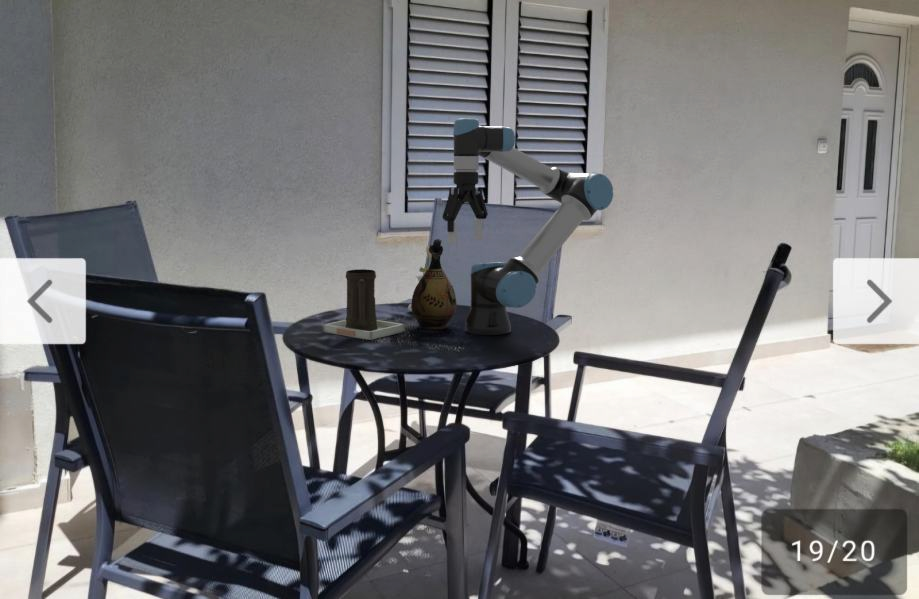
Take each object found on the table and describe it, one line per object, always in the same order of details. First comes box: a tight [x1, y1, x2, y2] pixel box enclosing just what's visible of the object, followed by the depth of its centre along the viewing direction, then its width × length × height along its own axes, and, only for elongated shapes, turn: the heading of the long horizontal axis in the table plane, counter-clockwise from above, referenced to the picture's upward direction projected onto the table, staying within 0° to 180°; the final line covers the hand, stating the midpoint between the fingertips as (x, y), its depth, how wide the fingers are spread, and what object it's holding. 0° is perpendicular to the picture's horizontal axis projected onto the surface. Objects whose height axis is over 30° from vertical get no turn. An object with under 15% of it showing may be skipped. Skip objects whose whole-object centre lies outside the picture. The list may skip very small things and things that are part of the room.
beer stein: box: [345, 268, 378, 331], centre depth 278 cm, size 15×11×20 cm
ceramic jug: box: [410, 238, 457, 331], centre depth 288 cm, size 17×15×30 cm
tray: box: [322, 319, 406, 341], centre depth 280 cm, size 17×21×2 cm
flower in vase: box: [407, 245, 432, 312], centre depth 317 cm, size 13×11×25 cm
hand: (465, 241), depth 259 cm, fingers open, 13 cm apart
